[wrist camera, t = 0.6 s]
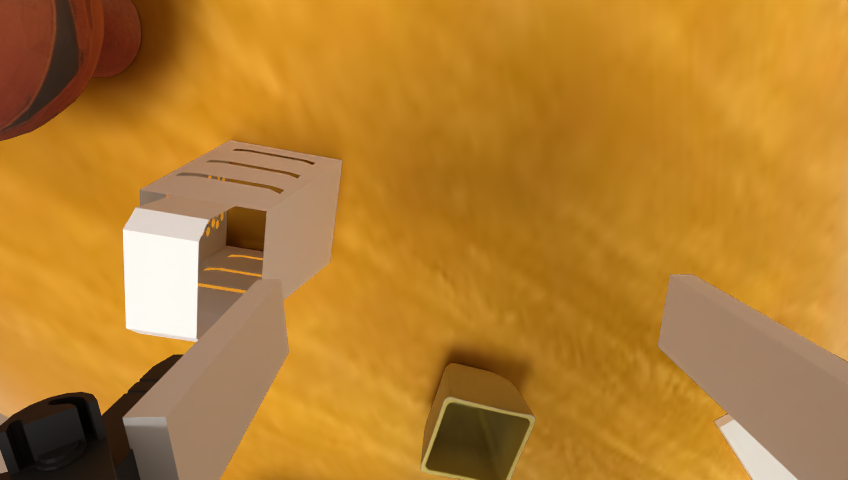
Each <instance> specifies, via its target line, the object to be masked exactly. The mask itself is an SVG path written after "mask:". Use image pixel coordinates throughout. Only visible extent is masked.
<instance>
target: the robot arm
mask: <svg viewBox="0 0 848 480" xmlns="http://www.w3.org/2000/svg"><path fill="white" fill-rule="evenodd" d="M658 348H660V349H661V350H662V351H663V352H664V353H665V354H666V355H667V356H668V357H669V358H670V359H671V360H672V361H673V362H674V363H675V364H676V365H677V366H678V367H680V368H681V369H682V370H683V371H684V372H685V373H686V374H687V375H688V376H689V377H690V378H691V379H692V380H693V381H694V382H695V383H696V384H697V385H699V386H700V387H701V388H702V389H703V390H704V391H705V392H706V393H707V394H708V395H709V396H710V397H711V398H712V399H713V400H714V401H715V402H716V403H718V404H719V405H720V406H721V407H722V408H723V409H724V410H725V411H726V412H727V413H728V414H729V415H730V416H731V417H732V418H733V419H734V420H735V421H736V422H738V423H739V424H740V425H741V426H742V427H743V428H744V429H745V430H746V431H747V432H748V433H749V434H750V435H751V436H752V437H753V438H754V439H755V440H757V441H758V442H759V443H760V444H761V445H762V446H763V447H764V448H765V449H766V450H767V451H768V452H769V453H770V454H771V455H772V456H773V457H774V458H776V459H777V460H778V461H779V462H780V463H781V464H782V465H783V466H784V467H785V468H786V469H787V470H788V471H789V472H790V473H791V474H792V475H793V476H794V477H796V478H797V479H798V480H848V362H847V361H845V360H843V359H842V358H840V357H838V356H836V355H835V354H832V353H830V352H829V351H827V350H825V349H823V348H822V347H820V346H818V345H816V344H815V343H813V342H811V341H809V340H807V339H806V338H804V337H802V336H800V335H799V334H797V333H795V332H793V331H792V330H790V329H788V328H786V327H785V326H783V325H781V324H779V323H777V322H776V321H774V320H772V319H770V318H769V317H767V316H765V315H763V314H762V313H760V312H758V311H756V310H755V309H753V308H751V307H749V306H747V305H746V304H744V303H742V302H740V301H739V300H737V299H735V298H733V297H732V296H730V295H728V294H726V293H725V292H723V291H721V290H719V289H717V288H716V287H714V286H712V285H710V284H709V283H707V282H705V281H703V280H702V279H700V278H698V277H696V276H695V275H693V274H682V275H670V279H669V284H668V290H667V296H666V302H665V307H664V313H663V319H662V325H661V330H660V336H659V342H658ZM288 353H289V348H288V339H287V330H286V321H285V312H284V303H283V294H282V285H281V279H258V280H257V281H256V282H255V283H254V284H253V285H252V286H251V287H250V288H249V289H248V290H247V291H246V292H245V293H244V294H243V295H242V296H241V297H240V298H239V299H238V300H237V301H236V302H235V303H234V304H233V305H232V306H231V307H230V308H229V309H228V310H227V311H226V312H225V313H224V314H223V315H222V317H221V318H220V319H219V320H218V321H217V322H216V323H215V324H214V325H213V326H212V327H211V328H210V329H209V330H208V331H207V332H206V333H205V334H204V335H203V336H202V337H201V338H200V339H199V340H198V341H197V342H196V343H195V344H194V345H193V346H192V347H191V348H190V349H189V350H188V351H187V352H186V353H185V354H184V355H172V356H171V357H169V358H167V359H165V360H164V361H162V362H160V363H158V364H157V365H155V366H153V367H152V368H151V369H150V370H149V371H148V372H147V373H146V374H145V375H144V376H143V377H142V378H141V379H140V381H139V382H137V383H136V384H134V385H133V386H132V387H131V388H130V389H129V390H128V393H127V394H124V395H123V396H122V397H121V398H120V399H119V400H118V401H117V402H115V403H114V404H113V405H112V406H111V407H110V408H109V409H108V410H107V411H106V412H105V413H104V414H103V415H102V416H101V413H100V409H99V405H98V402H97V399H96V398H95V397H94V396H93V394H89V393H84V392H76V393H66V394H62V395H58V396H54V397H50V398H47V399H44V400H42V401H39V402H37V403H34V404H32V405H30V406H28V407H26V408H24V409H23V410H21V411H19V412H17V413H15V414H14V415H12V416H11V417H10V418H9V419H8V420H7V421H6V422H4V423H3V424H2V425H0V450H1V453H2V456H3V459H4V461H5V464H6V467H7V470H8V472H5V473H1V474H0V480H220V478H221V476H222V474H223V473H224V471H225V469H226V467H227V465H228V463H229V462H230V460H231V458H232V456H233V454H234V452H235V450H236V449H237V447H238V445H239V443H240V441H241V439H242V438H243V436H244V434H245V432H246V430H247V428H248V427H249V425H250V423H251V421H252V419H253V417H254V415H255V414H256V412H257V410H258V408H259V406H260V404H261V403H262V401H263V399H264V397H265V395H266V393H267V392H268V390H269V388H270V386H271V384H272V382H273V380H274V379H275V377H276V375H277V373H278V371H279V369H280V368H281V366H282V364H283V362H284V360H285V358H286V357H287V355H288Z"/></svg>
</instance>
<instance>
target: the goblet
mask: <svg viewBox="0 0 848 480" xmlns="http://www.w3.org/2000/svg"><path fill="white" fill-rule="evenodd" d="M141 39H142V38H141V26H140V19H139V16H138V12H137V9H136V7H135V6H134V4H133V3H132V2H131V0H0V141H2V140H6V139H10V138H13V137H16V136H19V135H22V134H25V133H28V132H31V131H34V130H35V129H37V128H39V127H40V126H42V125H44V124H46V123H47V122H48V121H50V120H51V119H53V118H54V117H55V116H57V115H58V114H59V113H61V112H62V111H63V110H64V109H66V108H67V107H68V106H69V105H71V104H72V103H73V102H75V100H76V99H77V98H78V97H79V96H80V94H81V93H82V92H83V91H84V89H85V88H86V87H87V85H88V83H89V81H90V79H91V77H111V76H115V75H118V74H119V73H121V72H123V71H124V70H125V69H126V68H127V67H128V66H129V65H130V64H131V63H132V62H133V60H134V59H135V57H136V55H137V53H138V50H139V47H140V43H141Z"/></svg>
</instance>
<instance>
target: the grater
mask: <svg viewBox="0 0 848 480" xmlns="http://www.w3.org/2000/svg"><path fill="white" fill-rule="evenodd" d="M234 149H246V150H253V151H259V152H265V153H270V154H276V155H281V156H287V157H293V158H298V159H304V160H308V161H311V162H315V164H313V165H311V164H309V163H306V162H303V161H298V160H292V159H287V158H281V157H275V156H270V155H264V154H259V153H253V152H247V151H232V150H234ZM229 161H230V162H236V163H241V164H247V165H253V166H258V167H264V168H270V169H275V170H281V171H287V172H291V173H294V174H298V175H301V176H300V177H299V178H295V177H293V176H290V175H288V174H283V173H277V172H272V171H266V170H260V169H255V168H249V167H243V166H238V165H232V164H229ZM342 161H343V160H339V159H333V158H327V157H322V156H316V155H311V154H305V153H300V152H294V151H288V150H283V149H277V148H272V147H266V146H261V145H255V144H250V143H244V142H238V141H233V140H230V141H228V142H226V143H224V144H222V145H221V146H219V147H217V148H215V149H213V150H211V151H210V152H208V153H206V154H204V155H202V156H200V157H199V158H197V159H195V160H193V161H191V162H190V163H188V164H186V165H184V166H182V167H180V168H179V169H177V170H175V171H173V172H171V173H170V174H168V175H166V176H164V177H162V178H160V179H159V180H157V181H155V182H153V183H151V184H150V185H148V186H146V187H144V188H142V189H140V206H139V207H136V208H135V210H134V212H133V213H132V215H131V217H130V218H129V220H128V222H127V224H126V225H125V227H124V229H123V245H124V276H125V306H126V328H127V329H129V330H132V331H134V332H137V333H140V334H147V335H154V336H161V337H168V338H174V339H181V340H188V341H195V342H197V341H198V340H199V339H200V338H201V337H202V336H203V335H204V334H205V333H206V332H207V331H208V330H209V329H210V328H211V327H212V326H213V325H214V324H215V323H216V322H217V321H218V320H219V319H220V318H221V317H222V315H223V314H224V313H225V312H226V311H227V310H228V309H229V308H230V307H231V306H232V305H233V304H234V303H235V302H236V301H237V300H238V299H239V298H240V297H241V296H242V295H243V294H244V293H237V292H231V291H224V290H218V289H212V288H205V287H199V286H198V283H203V284H209V285H215V286H222V287H228V288H235V289H241V290H248V289H249V288H250V287H251V286H252V285H253V284H254V283H255V282H256V281H257V280H258V279H281V285H282V294H283V300H285V299H286V298H287V297H288V296H290V295H291V294H292V293H293V292H294V291H296V290H297V289H298V288H299V287H301V286H302V285H303V284H304V283H305V282H307V281H308V280H309V279H310V278H312V277H313V276H314V275H315V274H317V273H318V272H319V271H320V270H321V269H323V268H324V267H325V266H326V265H328V264H329V263H330V259H331V250H332V242H333V234H334V226H335V218H336V210H337V201H338V193H339V185H340V177H341V169H342ZM209 175H211V178H212V179H210V178H208V176H209ZM217 177H220V180H218V178H217ZM222 178H225V181H222ZM229 179H235V180H241V181H246V182H252V183H258V184H264V185H269V186H274V187H277V188H280V189H283V190H284V191H283V192H281V193H280V194H279V193H277V192H275V191H272V190H270V189H267V188H262V187H256V186H250V185H244V184H239V183H233V182H229ZM166 195H171V196H168V197H166ZM235 206H238V207H244V208H250V209H256V210H261V211H267V214H266V228H265V242H264V252H263V251H257V250H251V249H244V248H238V247H232V246H226V230H227V210H229V209H231V208H233V207H235ZM221 213H224V217H223V220H222V221H221V218H220V217H221ZM217 215H219V216H218V217H216V216H217ZM213 218H215V225H214V227H213V228H212V226H211V223H212V219H213ZM209 219H210V222H209V224H207V223H208V221H209ZM217 220H219V227H218V229H216V222H217ZM208 227H209V228H210V233H209V236H208V237H207V236H206V230H207V228H208ZM203 231H204V234H203ZM202 234H203V236H202ZM231 254H232V255H246V256H252V257H258V258H263V260H257V259H250V258H244V257H228V256H229V255H231ZM208 267H210V268H225V269H231V270H237V271H243V272H250V273H256V274H262V277H257V276H251V275H245V274H238V273H232V272H226V271H219V270H205V271H202V270H204V269H206V268H208Z"/></svg>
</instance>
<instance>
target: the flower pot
mask: <svg viewBox="0 0 848 480" xmlns="http://www.w3.org/2000/svg"><path fill="white" fill-rule="evenodd" d="M535 420H536V418H535V416H534V415H533V413H532V412H531V410H530V408H529V407H528V405H527V403H526V402H525V400H524V399H523V397H522V395H521V394H520V392H519V391H518V389H517V388H516V387H515V386H514V385H513V384H512V383H511V382H510V381H509V380H507V379H506V378H504V377H502V376H500V375H498V374H496V373H493V372H491V371H487V370H483V369H478V368H474V367H470V366H465V365H461V364H457V363H451V364H449V365H447V367H446V368H445V370H444V373H443V376H442V379H441V382H440V385H439V388H438V391H437V394H436V396H435V399H434V402H433V405H432V408H431V410H430V413H429V415H428V418H427V422H426V425H425V430H424V439H423V448H422V458H421V471H423V472H425V473H430V474H435V475H440V476H446V477H452V478H458V479H463V480H510V479H511V476H512V474H513V472H514V469H515V467H516V464H517V462H518V460H519V458H520V455H521V453H522V451H523V449H524V446H525V444H526V442H527V440H528V438H529V435H530V433H531V431H532V429H533V426H534V423H535Z"/></svg>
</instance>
